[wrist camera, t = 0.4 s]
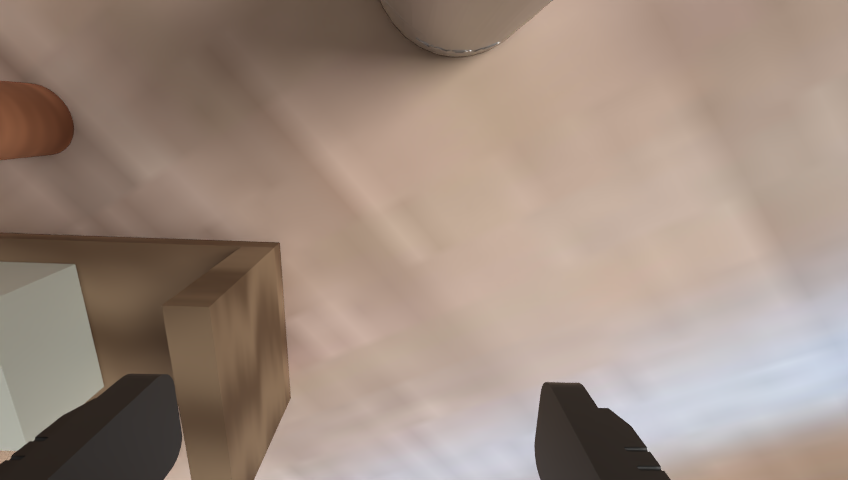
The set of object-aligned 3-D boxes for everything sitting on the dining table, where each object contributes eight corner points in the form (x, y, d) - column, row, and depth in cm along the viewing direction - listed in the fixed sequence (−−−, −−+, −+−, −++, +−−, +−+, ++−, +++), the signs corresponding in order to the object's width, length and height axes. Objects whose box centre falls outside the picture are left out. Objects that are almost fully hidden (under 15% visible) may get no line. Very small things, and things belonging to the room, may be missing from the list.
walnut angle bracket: (-124, 228, 25) (-413, 288, 16) (279, 242, 25) (209, 307, 17) (-62, 389, 28) (-271, 509, 20) (290, 398, 29) (237, 516, 20)
